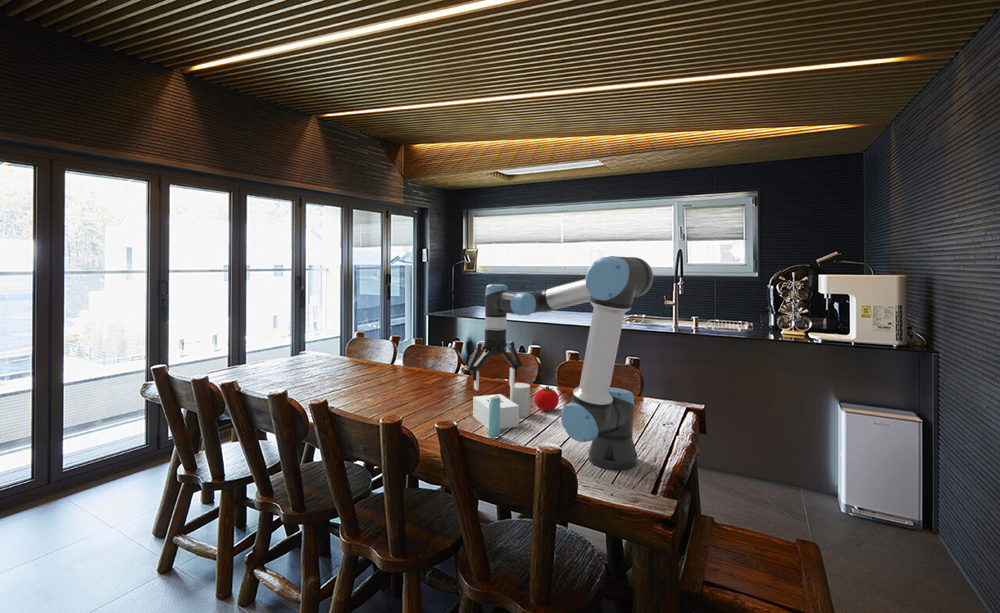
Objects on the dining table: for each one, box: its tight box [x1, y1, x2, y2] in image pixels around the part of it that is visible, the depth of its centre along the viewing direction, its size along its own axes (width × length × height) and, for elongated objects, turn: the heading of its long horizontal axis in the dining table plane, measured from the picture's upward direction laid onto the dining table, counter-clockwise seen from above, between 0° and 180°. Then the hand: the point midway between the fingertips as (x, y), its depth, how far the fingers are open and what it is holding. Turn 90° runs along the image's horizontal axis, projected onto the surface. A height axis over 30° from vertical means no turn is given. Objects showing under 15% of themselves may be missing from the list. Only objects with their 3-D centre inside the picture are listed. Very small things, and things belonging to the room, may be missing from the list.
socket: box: [472, 393, 520, 430], centre depth 192 cm, size 18×12×8 cm, turn 23°
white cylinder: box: [509, 382, 531, 418], centre depth 201 cm, size 8×8×12 cm
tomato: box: [534, 385, 560, 412], centre depth 208 cm, size 10×10×10 cm
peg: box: [488, 394, 501, 440], centre depth 174 cm, size 4×4×15 cm
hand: (494, 387), depth 174 cm, fingers open, 13 cm apart
